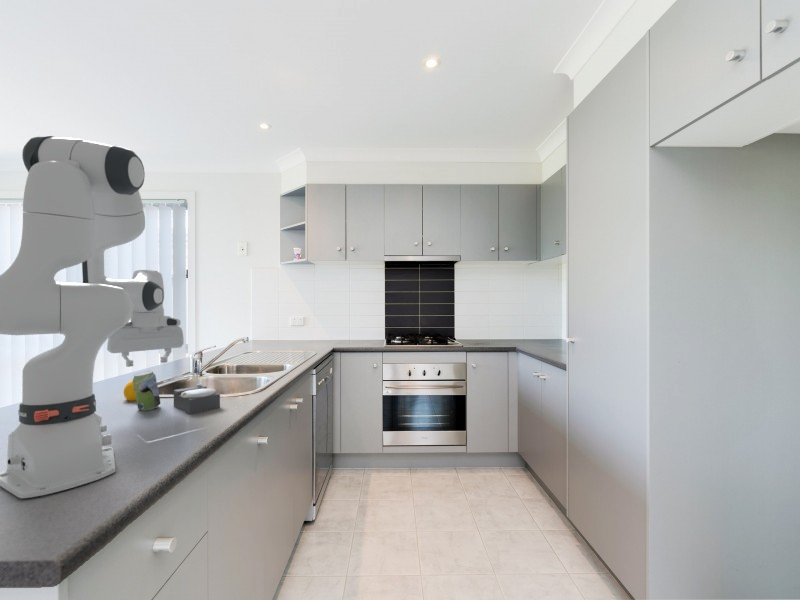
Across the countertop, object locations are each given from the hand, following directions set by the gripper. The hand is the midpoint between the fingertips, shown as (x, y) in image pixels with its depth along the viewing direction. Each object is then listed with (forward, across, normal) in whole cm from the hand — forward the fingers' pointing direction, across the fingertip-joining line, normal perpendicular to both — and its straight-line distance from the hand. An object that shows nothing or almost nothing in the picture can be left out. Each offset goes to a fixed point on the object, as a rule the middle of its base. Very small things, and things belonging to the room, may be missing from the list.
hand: (147, 364), depth 119 cm
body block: (+14, +11, -11) cm, 21 cm away
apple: (+15, +2, +15) cm, 21 cm away
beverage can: (+14, 0, -1) cm, 15 cm away
